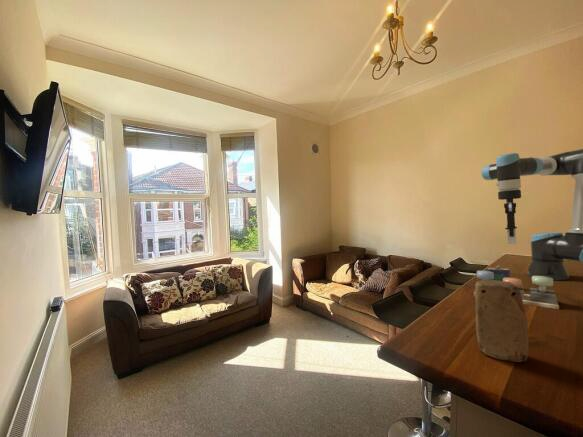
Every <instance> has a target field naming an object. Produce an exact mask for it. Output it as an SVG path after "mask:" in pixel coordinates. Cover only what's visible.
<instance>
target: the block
mask: <svg viewBox="0 0 583 437" xmlns="http://www.w3.org/2000/svg"><path fill="white" fill-rule="evenodd" d="M476 282H477V283H475V284H476V292H475V297H474V298H475V331H476V339H477V340H476V341H477V346H478V348H479V350H480V351H481V352H483V353H484V354H485V355H486V356H489V357H490V358H494V359H497V360H500V361H510V362H515V363H521V362H527V361H528V357H529V330H528V329H529V328H528V318H527V314H526V311H525V307H524V306H525V304H523V300H522V296H521V293H520V291H519V288H518V287H517V286H515V285H514V284H512V283H510V282H506V281H504V282H501V281H496V280H483V279H480V280H479V281H476Z"/></svg>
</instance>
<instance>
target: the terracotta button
mask: <svg viewBox="0 0 583 437" xmlns="http://www.w3.org/2000/svg"><path fill="white" fill-rule="evenodd" d="M504 281H506V282H510V283H512V284H514V285H515V286H517V287H518V288H519V287H523V280H522V279H521V278H516V277H510V278H503V282H504Z"/></svg>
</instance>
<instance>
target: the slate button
mask: <svg viewBox="0 0 583 437" xmlns="http://www.w3.org/2000/svg"><path fill="white" fill-rule="evenodd" d="M476 278H477V279H480V280H492V279H494V273H493V272H491V271H486V270H477V271H476Z"/></svg>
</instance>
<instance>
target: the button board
mask: <svg viewBox="0 0 583 437" xmlns="http://www.w3.org/2000/svg"><path fill="white" fill-rule="evenodd" d="M477 282H478V281H476V283H477ZM476 283H475V285H474V292H473V297H474V298H475V292H476ZM524 288H525V287H524V286H522V287H519V291H520V293H521V296H522V300H523V305H526V306H527V305H529V306H534V307H535V306H536V307H540V308H547V309H553V310H560V305H559V303H558V300H557V295H556V292H555V290H553V289H552V290H551V289H550V290H549V289H546V293H541V292H539V288H535V287H530V288H529V293H530V294H528V293H527V294H525V290H524Z"/></svg>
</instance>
